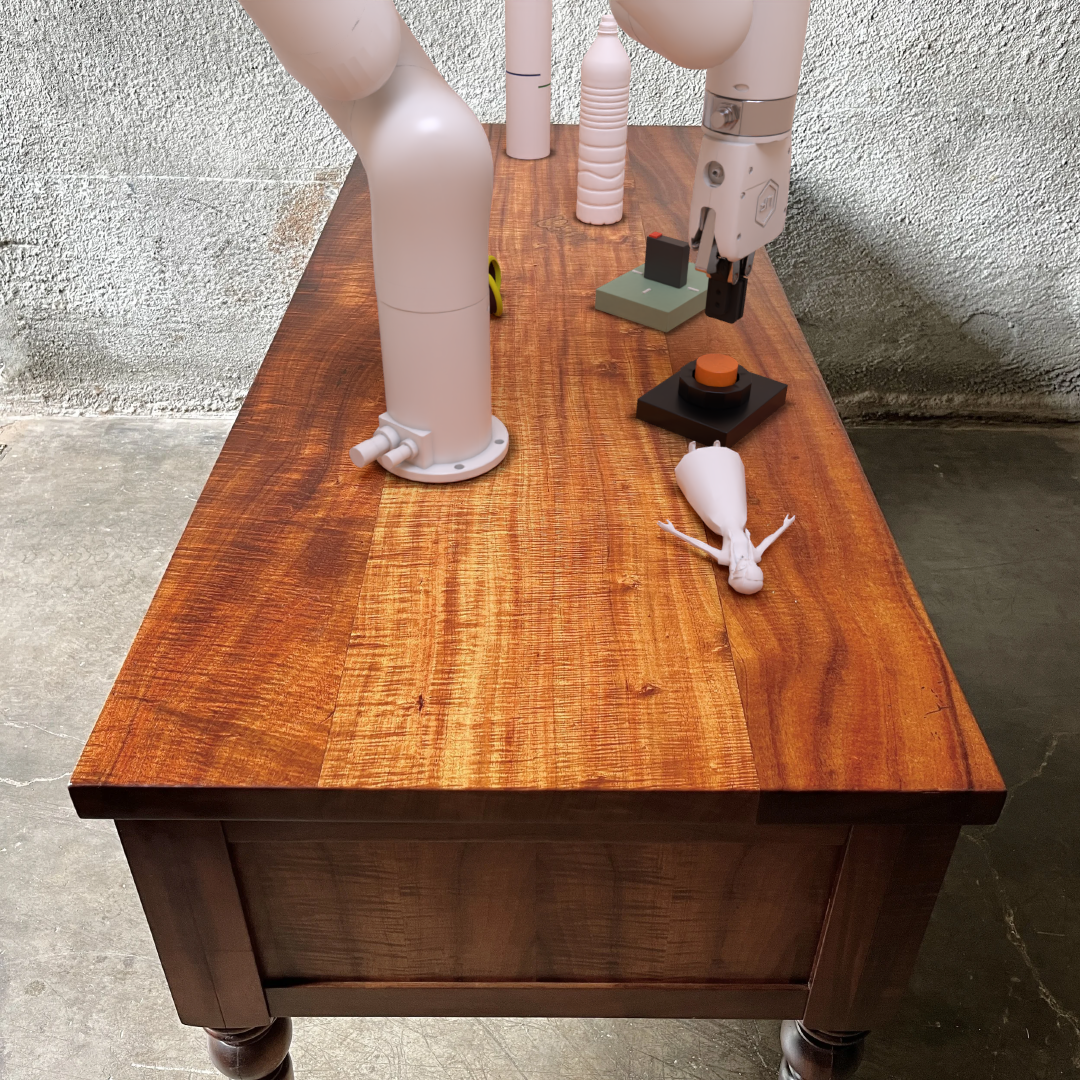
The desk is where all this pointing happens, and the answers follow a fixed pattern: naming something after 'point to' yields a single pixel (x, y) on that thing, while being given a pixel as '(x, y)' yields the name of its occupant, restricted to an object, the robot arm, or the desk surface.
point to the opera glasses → (495, 286)
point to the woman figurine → (722, 512)
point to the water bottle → (603, 127)
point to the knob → (666, 260)
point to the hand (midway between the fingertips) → (723, 316)
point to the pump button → (716, 370)
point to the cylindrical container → (528, 77)
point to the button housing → (711, 406)
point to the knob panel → (653, 298)
